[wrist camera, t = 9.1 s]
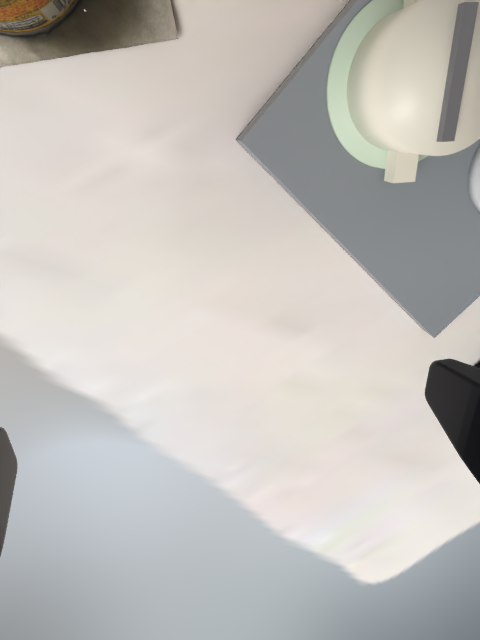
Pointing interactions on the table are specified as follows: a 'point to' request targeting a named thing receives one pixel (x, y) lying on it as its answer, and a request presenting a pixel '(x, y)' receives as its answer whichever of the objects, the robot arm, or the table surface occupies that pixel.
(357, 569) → the table surface
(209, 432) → the table surface
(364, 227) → the post board
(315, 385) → the table surface
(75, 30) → the condiment
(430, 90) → the cream rounded dome
